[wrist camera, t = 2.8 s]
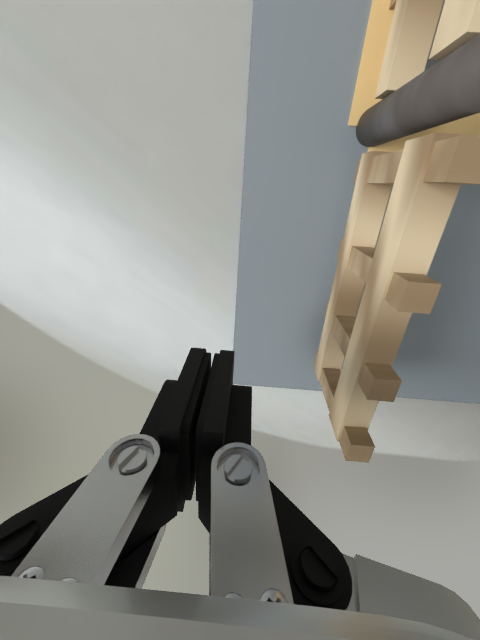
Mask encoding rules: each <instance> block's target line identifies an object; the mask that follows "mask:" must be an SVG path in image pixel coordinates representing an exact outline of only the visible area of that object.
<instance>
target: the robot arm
mask: <svg viewBox="0 0 480 640" xmlns="http://www.w3.org/2000/svg"><path fill="white" fill-rule="evenodd" d="M234 355H235V351H226V350H221V351H220V354H217V353H215V355H214V359H213V363H212V367H211V353H206V349H201V348H191V350H190V352H189V354H188V357H187V359H186V362H185V364H184V366H183V369H182V371H181V374H180V376H179V378H178V381H177V380H166V381H165V383H164V384H163V386H162V389H161V391H160V393H159V395H158V397H157V399H156V401H155V403H154V405H153V407H152V409H151V411H150V413H149V416H148V418H147V420H146V422H145V424H144V426H143V428H142V430H141V432H140V434H135V435H129V436H127V437H124V438H121V439H120V440H118V441H117V442H115V443H114V444H113V445H112V446H111V447H110V448H109V449H108V450H107V451H106V452H105V454H104V455H103V456H102V458H101V459H100V460H99V462H98V463H97V464H96V466H95V467H94V468H93V469H92V471H91V472H90V473H89V474H88V475H87V476H85V477H83V478H81V479H79V480H77V481H76V482H74V483H72V484H70V485H68V486H66V487H65V488H63V489H61V490H59V491H57V492H56V493H54V494H52V495H50V496H48V497H46V498H45V499H43V500H41V501H39V502H37V503H35V504H34V505H32V506H30V507H28V508H26V509H25V510H23V511H21V512H19V513H17V514H15V515H14V516H12V517H11V518H9V519H8V520H6V521H5V522H3V523H2V524H0V640H480V619H479V618H478V617H477V615H476V614H475V613H474V611H473V610H472V609H471V607H470V606H469V605H468V604H467V603H466V602H465V601H464V600H463V599H462V598H461V597H459V596H458V595H457V594H456V593H455V592H453V591H452V590H450V589H448V588H446V587H444V586H442V585H440V584H437V583H434V582H432V581H429V580H426V579H423V578H421V577H418V576H415V575H412V574H410V573H407V572H404V571H401V570H398V569H396V568H393V567H390V566H387V565H385V564H382V563H379V562H376V561H373V560H371V559H368V558H365V557H362V556H360V555H357V554H356V555H355V557H354V558H352V557H350V556H347V555H344V554H342V553H341V552H340V551H339V550H338V548H337V547H336V546H335V545H334V544H333V543H332V542H331V541H330V540H329V539H328V538H327V537H326V536H325V535H324V534H323V533H322V532H321V531H320V530H319V529H318V528H317V527H316V526H315V525H314V524H313V523H312V522H311V521H310V520H309V519H308V518H307V517H306V516H305V515H304V514H303V513H302V512H301V511H300V510H299V509H298V508H297V507H296V506H295V505H294V504H293V503H292V502H291V501H290V500H289V499H288V498H287V497H286V496H285V495H284V494H283V493H282V492H281V491H280V490H279V489H278V488H277V487H276V486H275V485H274V484H273V483H272V482H271V481H270V480H269V479H268V474H267V469H266V464H265V461H264V459H263V456H262V455H261V454H260V452H259V451H258V450H257V449H255V448H254V447H252V446H251V408H252V387H251V386H238V385H233V372H234ZM195 481H196V501H198V506H199V507H198V510H199V512H198V513H199V519H200V520H201V522H202V523H203V525H204V526H205V527H206V529H207V530H208V532H209V596H207V595H198V594H188V593H177V592H167V591H157V590H146V589H142V586H143V584H144V582H145V579H146V577H147V574H148V572H149V569H150V567H151V564H152V562H153V559H154V557H155V554H156V552H157V549H158V547H159V545H160V542H161V540H162V537H163V535H164V532H165V528H166V523H168V522H169V521H170V520H171V519H172V518H174V517H175V516H177V512H178V511H180V512H183V508H184V503H185V500H191V499H192V495H193V491H194V485H195Z"/></svg>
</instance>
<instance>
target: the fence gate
mask: <svg viewBox="0 0 480 640" xmlns="http://www.w3.org/2000/svg"><path fill="white" fill-rule="evenodd" d="M479 136H480V135H467V134H451V133H432V134H428V135H425V136H421V137H418V138H414V139H411V140H408V141H406V142H405V145H404V149H403V150H398V151H394V152H383V151H370V152H367V153H363V154H362V157H361V160H359V161H358V166H357V170H356V175H355V179H354V183H355V188H354V192H353V197H352V201H351V206H350V210H349V215H348V219H347V224H346V228H345V233H344V237H343V239H341V243H340V247H339V252H338V256H337V258H338V264H337V268H336V273H335V277H334V282H333V286H332V291H331V295H330V300H329V302H327V306H326V311H325V315H324V318H325V322H324V327H323V331H322V335H321V340H320V344H319V349H318V351H316V356H315V360H314V366H315V367H314V371H315V374H316V377H317V380H318V381H320V384H321V387H322V390H323V393H324V396H325V399H326V402H327V405H328V409H329V412H330V413H329V417H330V420H331V424H332V427H333V430H334V433H335V436H336V439H337V441H339V442H340V445H341V448H342V451H343V454H344V457H345V460H346V461H358V462H369V460H370V458H371V455H372V453H373V450H374V448H375V446H374V444H373V441H372V439H371V437H370V435H369V433H368V428H369V425H370V423H371V420H372V417H373V415H374V412H375V410H376V407H377V404H378V402H379V401H389V402H394V400H395V397H396V395H397V392H398V390H399V388H400V385H401V383H402V380H401V379H400V377H399V376H398V375H397V373H396V372H395V371H394V369H393V368H392V365H393V362H394V360H395V357H396V354H397V352H398V349H399V346H400V344H401V341H402V339H403V336H404V333H405V331H406V328H407V325H408V323H409V320H410V317H411V315H412V313H424V314H430V312H431V310H432V308H433V305H434V303H435V300H436V298H437V296H438V293H439V291H440V288H441V286H442V284H441V283H439V282H437V281H435V280H433V279H432V278H430V277H428V276H426V275H427V273H428V270H429V268H430V265H431V262H432V260H433V257H434V254H435V252H436V249H437V246H438V244H439V241H440V239H441V236H442V233H443V231H444V228H445V225H446V223H447V220H448V218H449V215H450V212H451V210H452V207H453V204H454V202H455V199H456V197H457V194H458V191H459V189H460V186H461V184H480V137H479ZM392 185H393V188H392ZM391 188H392V192H391ZM390 192H391V195H390ZM389 195H390V199H389ZM388 199H389V203H388V206H387V202H388ZM386 206H387V210H386ZM385 210H386V213H385ZM384 213H385V217H384ZM383 217H384V220H383ZM382 220H383V224H382ZM381 224H382V228H381V231H380V227H381ZM379 231H380V235H379ZM378 235H379V238H378ZM377 238H378V242H377ZM376 242H377V245H376ZM375 245H376V249H375ZM365 283H366V285H365ZM364 285H365V288H364ZM363 288H364V292H363ZM362 292H363V295H362ZM361 296H362V299H361ZM360 299H361V302H360ZM359 303H360V306H359ZM358 306H359V310H358ZM357 310H358V313H357ZM356 314H357V317H356ZM355 317H356V319H355ZM344 357H345V359H344ZM343 360H344V363H343ZM342 364H343V367H342ZM341 367H342V370H341ZM340 371H341V372H340Z"/></svg>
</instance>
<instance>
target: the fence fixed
mask: <svg viewBox="0 0 480 640" xmlns="http://www.w3.org/2000/svg"><path fill="white" fill-rule="evenodd" d="M443 1H444V0H391V2H390V6H389V10H394V14H393V18H392V23H391V27H390V32H389V36H388V41H387V45H386V49H385V54H384V58H383V63H382V67H381V72H380V76H379V81H378V85H377V90H376V94H375V99H382V100H381V101H379V102H378V103H376V104H375V105H373V106H372V107H370V108H369V109H367V110H366V111H365V112H364V113H363V114H362V116H361V117H360V119H359V121H358V124H357V126H356V137H357V139H358V141H359V143H360V144H361V145H363V146H365V147H374V146H378V145H381V144H384V143H387V142H390V141H393V140H396V139H399V138H402V137H406V136H409V135H412V134H415V133H418V132H421V131H424V130H427V129H430V128H433V127H437V126H440V125H443V124H446V123H449V122H452V121H455V120H458V119H461V118H464V117H468V116H471V115H474V114H477V113H480V0H445V3H444V6H443V10H442V14H441V17H440V21H439V24H438V28H437V31H436V35H435V38H434V42H433V46H432V49H431V53H430V56H429V60H440V61H439V62H437V63H436V64H434V65H433V66H431V67H430V68H428V69H427V70H425V66H426V62H427V59H428V55H429V52H430V48H431V44H432V41H433V37H434V34H435V30H436V27H437V23H438V19H439V16H440V12H441V9H442V5H443ZM424 70H425V71H424Z"/></svg>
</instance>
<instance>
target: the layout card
mask: <svg viewBox="0 0 480 640" xmlns="http://www.w3.org/2000/svg"><path fill="white" fill-rule="evenodd" d="M390 2H391V0H253V17H252V35H251V52H250V70H249V87H248V104H247V122H246V139H245V157H244V174H243V191H242V209H241V226H240V243H239V261H238V278H237V296H236V313H235V330H234V348H233V351H235V355H234V372H233V384H240V385H252V386H265V387H277V388H290V389H303V390H315V391H323V390H322V387H321V384H320V381H318V380H317V377H316V374H315V371H314V367H315V366H314V360H315V356H316V351H318V349H319V344H320V340H321V335H322V331H323V327H324V322H325V318H324V315H325V311H326V306H327V302H329V300H330V295H331V291H332V286H333V282H334V277H335V273H336V268H337V264H338V258H337V256H338V252H339V247H340V243H341V239H343V237H344V233H345V228H346V224H347V219H348V215H349V210H350V206H351V201H352V197H353V192H354V188H355V183H354V179H355V175H356V170H357V166H358V161H359V160H361V157H362V154H363V153H367V152H370V151H383V152H394V151H398V150H403V149H404V145H405V142H406V141H408V140H411V139H414V138H418V137H421V136H425V135H428V134H432V133H451V134H467V135H480V113H477V114H474V115H471V116H468V117H464V118H461V119H458V120H455V121H452V122H449V123H446V124H443V125H440V126H437V127H433V128H430V129H427V130H424V131H421V132H418V133H415V134H412V135H409V136H406V137H402V138H399V139H396V140H393V141H390V142H387V143H384V144H381V145H378V146H374V147H365V146H363V145H361V144H360V143H359V141H358V139H357V137H356V126H357V124H358V121H359V119H360V117H361V116H362V114H363V113H364V112H365V111H366V110H367V109H369V108H370V107H372V106H373V105H375V104H376V103H378V102H379V101H381V100H382V99H375V94H376V90H377V85H378V81H379V76H380V72H381V67H382V63H383V58H384V54H385V49H386V45H387V41H388V36H389V32H390V27H391V23H392V18H393V14H394V10H389V6H390ZM444 3H445V0H444V1H443V5H442V9H441V12H440V16H439V19H438V23H437V27H436V30H435V34H434V37H433V41H432V44H431V48H430V52H429V55H428V59H427V62H426V66H425V70H427V69H428V68H430V67H431V66H433V65H434V64H436V63H437V62H439V61H440V60H429V56H430V53H431V49H432V46H433V42H434V38H435V35H436V31H437V28H438V24H439V21H440V17H441V14H442V10H443V6H444ZM425 70H424V71H425ZM479 137H480V136H479ZM392 188H393V185H392ZM392 188H391V192H392ZM391 192H390V195H391ZM390 195H389V199H390ZM389 199H388V202H387V206H388V203H389ZM387 206H386V210H387ZM386 210H385V213H386ZM385 213H384V217H385ZM384 217H383V220H384ZM383 220H382V224H383ZM382 224H381V227H380V231H381V228H382ZM380 231H379V235H380ZM379 235H378V238H379ZM378 238H377V242H378ZM377 242H376V245H377ZM376 245H375V249H376ZM426 276H428V277H430V278H432V279H433V280H435V281H437V282H439V283H441V284H442V286H441V288H440V291H439V293H438V296H437V298H436V300H435V303H434V305H433V308H432V310H431V312H430V314H424V313H412V315H411V317H410V320H409V323H408V325H407V328H406V331H405V333H404V336H403V339H402V341H401V344H400V346H399V349H398V352H397V354H396V357H395V360H394V362H393V365H392V368H393V369H394V371H395V372H396V373H397V375H398V376H399V377H400V379H401V380H402V383H401V385H400V388H399V390H398V392H397V395H396V397H403V398H415V399H428V400H441V401H453V402H466V403H478V404H480V184H461V186H460V189H459V191H458V194H457V197H456V199H455V202H454V204H453V207H452V210H451V212H450V215H449V218H448V220H447V223H446V225H445V228H444V231H443V233H442V236H441V239H440V241H439V244H438V246H437V249H436V252H435V254H434V257H433V260H432V262H431V265H430V268H429V270H428V273H427V275H426ZM365 285H366V283H365ZM365 285H364V288H365ZM364 288H363V292H364ZM363 292H362V295H363ZM361 299H362V296H361ZM361 299H360V302H361ZM359 306H360V303H359ZM359 306H358V310H359ZM358 310H357V313H358ZM356 317H357V314H356ZM356 317H355V319H356ZM344 359H345V357H344ZM343 363H344V360H343ZM342 367H343V364H342ZM342 367H341V370H342ZM340 372H341V371H340Z"/></svg>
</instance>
